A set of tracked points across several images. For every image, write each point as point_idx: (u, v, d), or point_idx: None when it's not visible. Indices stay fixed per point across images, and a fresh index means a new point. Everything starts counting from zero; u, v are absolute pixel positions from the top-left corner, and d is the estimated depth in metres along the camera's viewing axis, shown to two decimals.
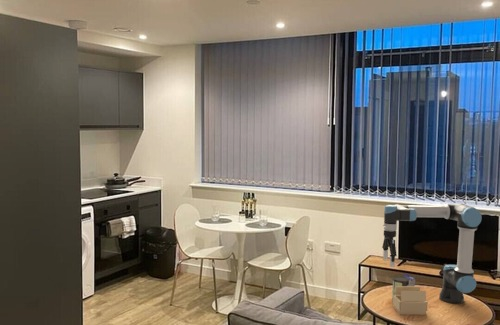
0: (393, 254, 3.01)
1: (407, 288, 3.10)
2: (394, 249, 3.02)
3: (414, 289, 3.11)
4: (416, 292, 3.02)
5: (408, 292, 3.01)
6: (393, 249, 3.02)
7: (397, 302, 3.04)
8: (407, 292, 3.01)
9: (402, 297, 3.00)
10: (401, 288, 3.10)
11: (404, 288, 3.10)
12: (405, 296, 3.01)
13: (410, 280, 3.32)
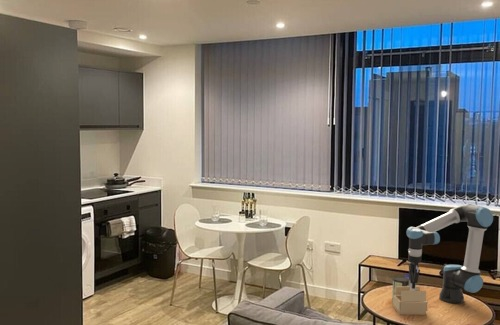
0: None
1: (407, 288, 3.10)
2: (416, 277, 2.97)
3: None
4: (416, 292, 3.01)
5: (408, 292, 3.01)
6: (415, 277, 2.97)
7: (397, 302, 3.04)
8: (407, 292, 3.01)
9: (402, 297, 3.00)
10: (401, 288, 3.10)
11: (404, 288, 3.10)
12: (405, 296, 3.01)
13: None
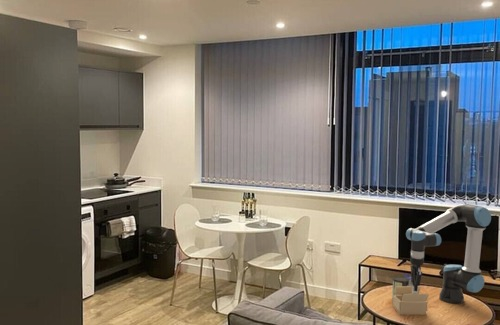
0: None
1: (407, 288, 3.10)
2: (419, 280, 2.93)
3: None
4: (419, 295, 2.98)
5: (410, 295, 2.97)
6: (418, 280, 2.93)
7: (397, 302, 3.04)
8: (409, 295, 2.97)
9: (403, 298, 2.99)
10: (401, 288, 3.10)
11: (404, 288, 3.10)
12: (406, 298, 2.98)
13: (410, 280, 3.32)
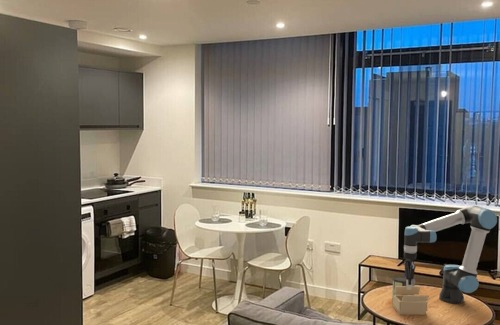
0: None
1: None
2: (412, 274, 3.05)
3: (414, 289, 3.11)
4: (419, 296, 2.97)
5: (411, 296, 2.97)
6: (411, 274, 3.05)
7: (397, 302, 3.04)
8: (410, 296, 2.97)
9: (403, 299, 2.98)
10: (401, 288, 3.10)
11: (404, 288, 3.10)
12: (406, 299, 2.98)
13: None
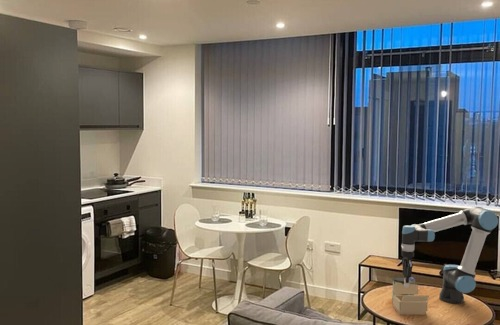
0: None
1: None
2: (410, 272, 3.08)
3: (412, 287, 3.14)
4: (419, 296, 2.97)
5: (411, 296, 2.97)
6: (409, 272, 3.08)
7: (397, 302, 3.04)
8: (410, 296, 2.97)
9: (403, 299, 2.98)
10: (399, 286, 3.14)
11: (402, 286, 3.14)
12: (406, 299, 2.98)
13: (410, 280, 3.32)
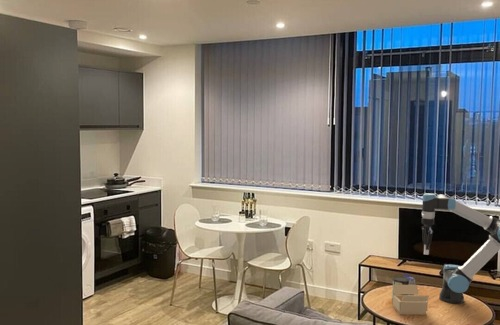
0: None
1: (404, 286, 3.15)
2: (430, 239, 3.13)
3: (412, 287, 3.15)
4: (419, 296, 2.97)
5: (411, 296, 2.97)
6: (429, 239, 3.13)
7: (397, 302, 3.04)
8: (410, 296, 2.97)
9: (403, 299, 2.98)
10: (398, 286, 3.15)
11: (401, 286, 3.15)
12: (406, 299, 2.98)
13: (410, 280, 3.32)
